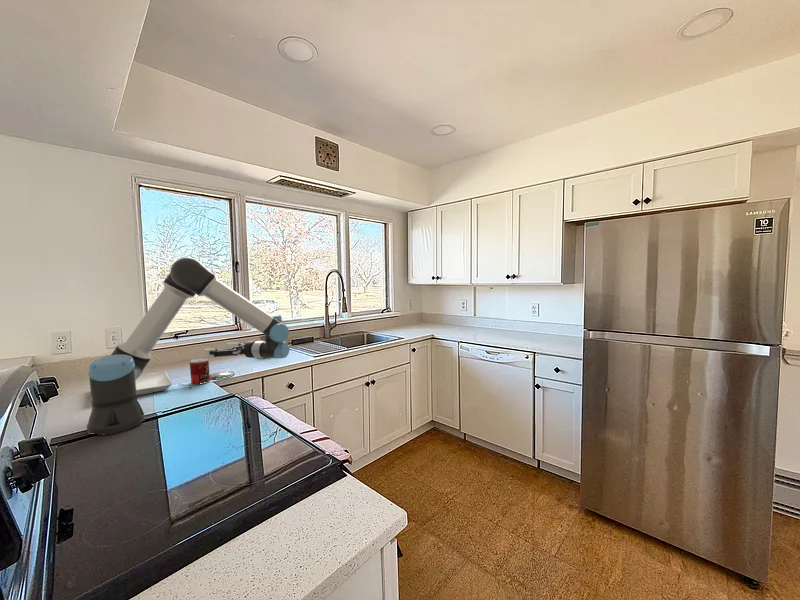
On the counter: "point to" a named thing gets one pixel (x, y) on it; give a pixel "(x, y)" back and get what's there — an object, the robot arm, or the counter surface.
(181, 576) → the counter surface
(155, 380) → the square plate
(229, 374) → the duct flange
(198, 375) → the canned food
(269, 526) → the counter surface
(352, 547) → the counter surface
